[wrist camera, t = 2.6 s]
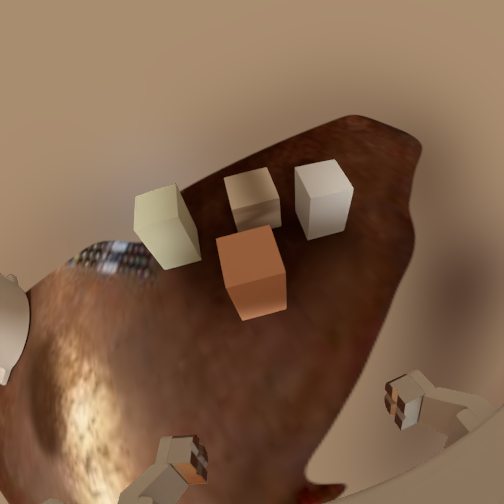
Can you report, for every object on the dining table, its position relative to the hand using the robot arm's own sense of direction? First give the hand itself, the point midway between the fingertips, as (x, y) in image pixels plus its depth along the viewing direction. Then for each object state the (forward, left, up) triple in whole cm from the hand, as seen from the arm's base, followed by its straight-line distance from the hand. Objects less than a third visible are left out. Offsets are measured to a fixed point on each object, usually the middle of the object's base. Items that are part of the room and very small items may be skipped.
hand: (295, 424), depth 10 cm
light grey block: (+9, +19, -14) cm, 26 cm away
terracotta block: (0, +12, -14) cm, 19 cm away
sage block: (-7, +20, -14) cm, 26 cm away
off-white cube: (+2, +22, -14) cm, 27 cm away
